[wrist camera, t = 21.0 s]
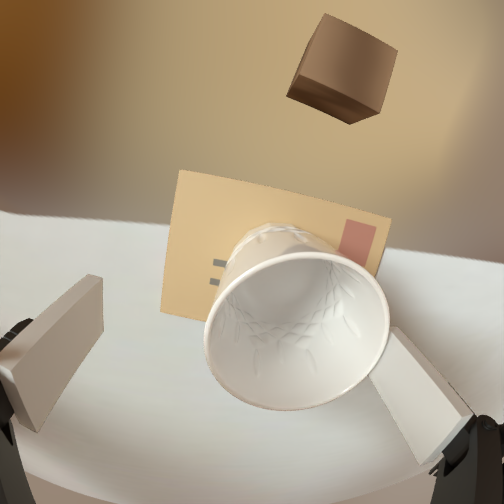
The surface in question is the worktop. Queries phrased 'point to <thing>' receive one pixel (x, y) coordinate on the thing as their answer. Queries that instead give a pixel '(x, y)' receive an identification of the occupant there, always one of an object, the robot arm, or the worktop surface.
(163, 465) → the worktop surface
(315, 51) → the walnut block
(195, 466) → the worktop surface
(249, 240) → the white cup
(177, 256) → the envelope
